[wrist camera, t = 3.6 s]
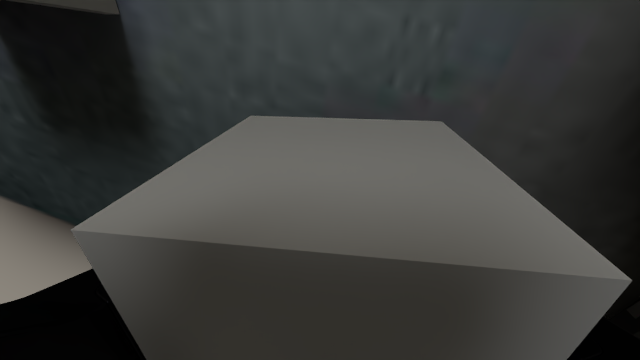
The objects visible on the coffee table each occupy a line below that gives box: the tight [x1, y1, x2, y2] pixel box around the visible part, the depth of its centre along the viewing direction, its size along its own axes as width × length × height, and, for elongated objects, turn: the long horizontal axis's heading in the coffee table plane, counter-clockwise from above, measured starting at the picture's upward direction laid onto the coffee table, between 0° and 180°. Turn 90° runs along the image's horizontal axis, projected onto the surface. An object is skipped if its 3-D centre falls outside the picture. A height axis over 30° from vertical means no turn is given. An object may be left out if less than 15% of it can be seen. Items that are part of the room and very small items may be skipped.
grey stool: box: [71, 116, 632, 360], centre depth 7 cm, size 7×7×6 cm
